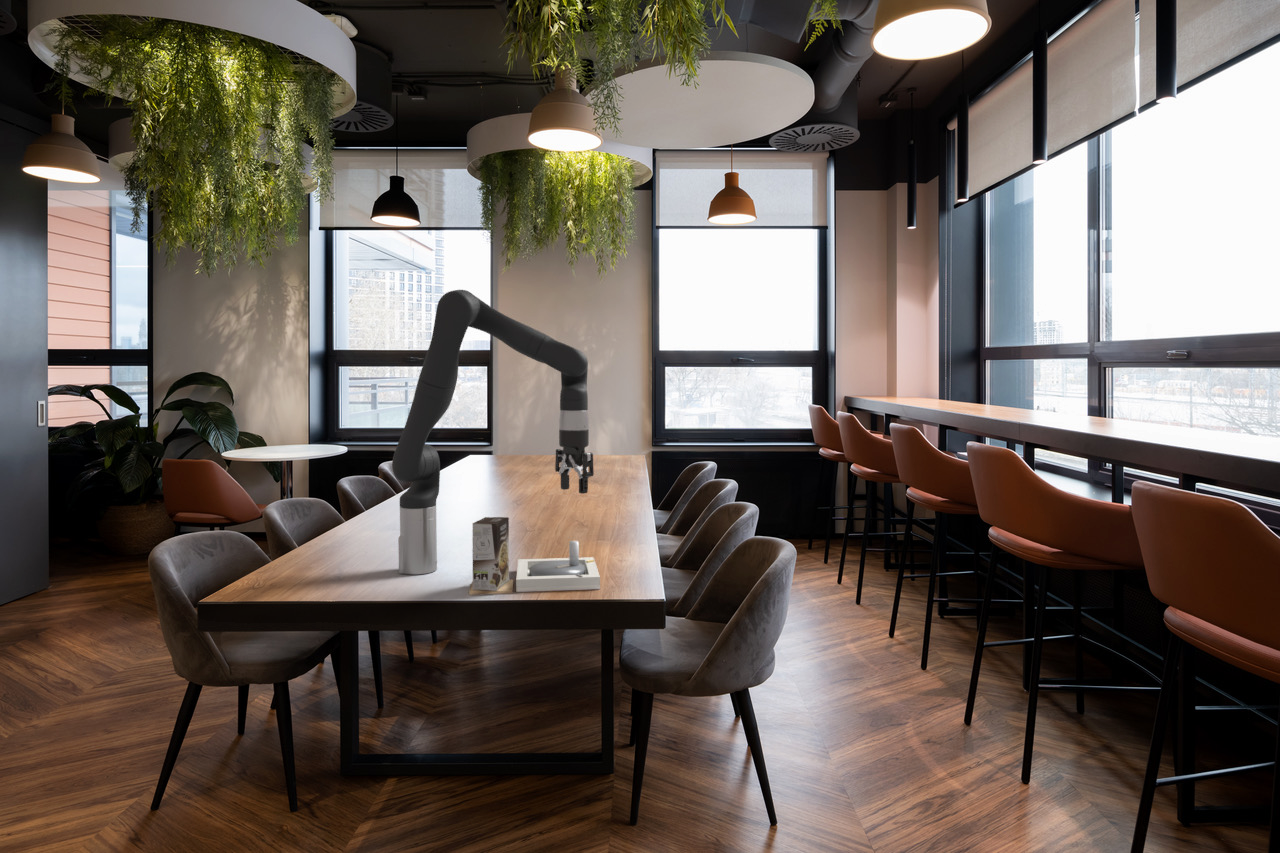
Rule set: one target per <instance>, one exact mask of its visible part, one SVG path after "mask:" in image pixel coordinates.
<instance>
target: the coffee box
mask: <svg viewBox="0 0 1280 853" xmlns="http://www.w3.org/2000/svg"><path fill="white" fill-rule="evenodd" d="M509 520H510V518H509V517H505V516H504V517H503V516H494V517H490V516H485V517H483V518H481V519H479V520H476V521H475V522H472V581H473V590H489V591H497V590H498V589H500V588H501V587H502V586H503V585H505V584H506V583H507V582H508V581H509V580H510V549H509V548H510V540H509V539H510V537H509V536H510V531H509V530H510V529H509V528H510V526H509V525H510V521H509Z"/></svg>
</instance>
